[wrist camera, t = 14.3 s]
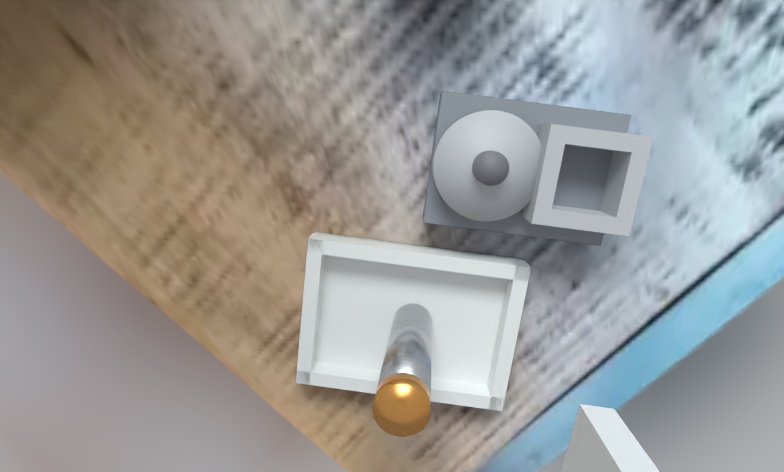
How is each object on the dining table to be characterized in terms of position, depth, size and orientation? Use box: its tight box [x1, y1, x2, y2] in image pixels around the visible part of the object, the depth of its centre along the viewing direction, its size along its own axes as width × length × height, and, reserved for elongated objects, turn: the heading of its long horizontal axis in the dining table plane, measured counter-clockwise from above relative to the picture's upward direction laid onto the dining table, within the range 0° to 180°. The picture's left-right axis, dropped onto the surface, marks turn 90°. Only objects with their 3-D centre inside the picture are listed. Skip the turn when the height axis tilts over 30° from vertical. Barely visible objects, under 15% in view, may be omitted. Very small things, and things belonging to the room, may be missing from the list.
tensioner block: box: [423, 91, 654, 246], centre depth 35 cm, size 14×10×6 cm
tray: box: [296, 232, 531, 411], centre depth 39 cm, size 18×13×2 cm
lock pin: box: [373, 304, 432, 437], centre depth 34 cm, size 3×3×13 cm
